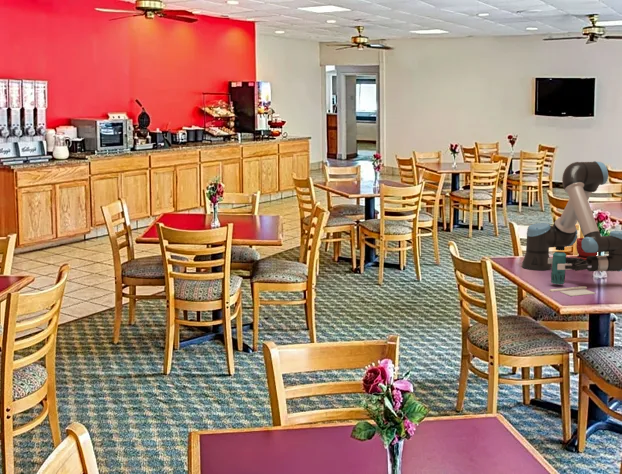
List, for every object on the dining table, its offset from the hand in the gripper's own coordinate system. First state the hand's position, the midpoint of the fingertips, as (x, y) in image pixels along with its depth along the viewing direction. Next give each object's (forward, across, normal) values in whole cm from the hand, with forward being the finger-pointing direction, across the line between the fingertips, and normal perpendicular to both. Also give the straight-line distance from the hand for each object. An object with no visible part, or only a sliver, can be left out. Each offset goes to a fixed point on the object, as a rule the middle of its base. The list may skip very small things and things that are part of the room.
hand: (552, 263), depth 383 cm
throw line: (-6, -8, -11) cm, 14 cm away
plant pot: (-41, +59, -11) cm, 73 cm away
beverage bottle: (-3, 0, -11) cm, 12 cm away
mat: (-8, -14, -11) cm, 19 cm away
